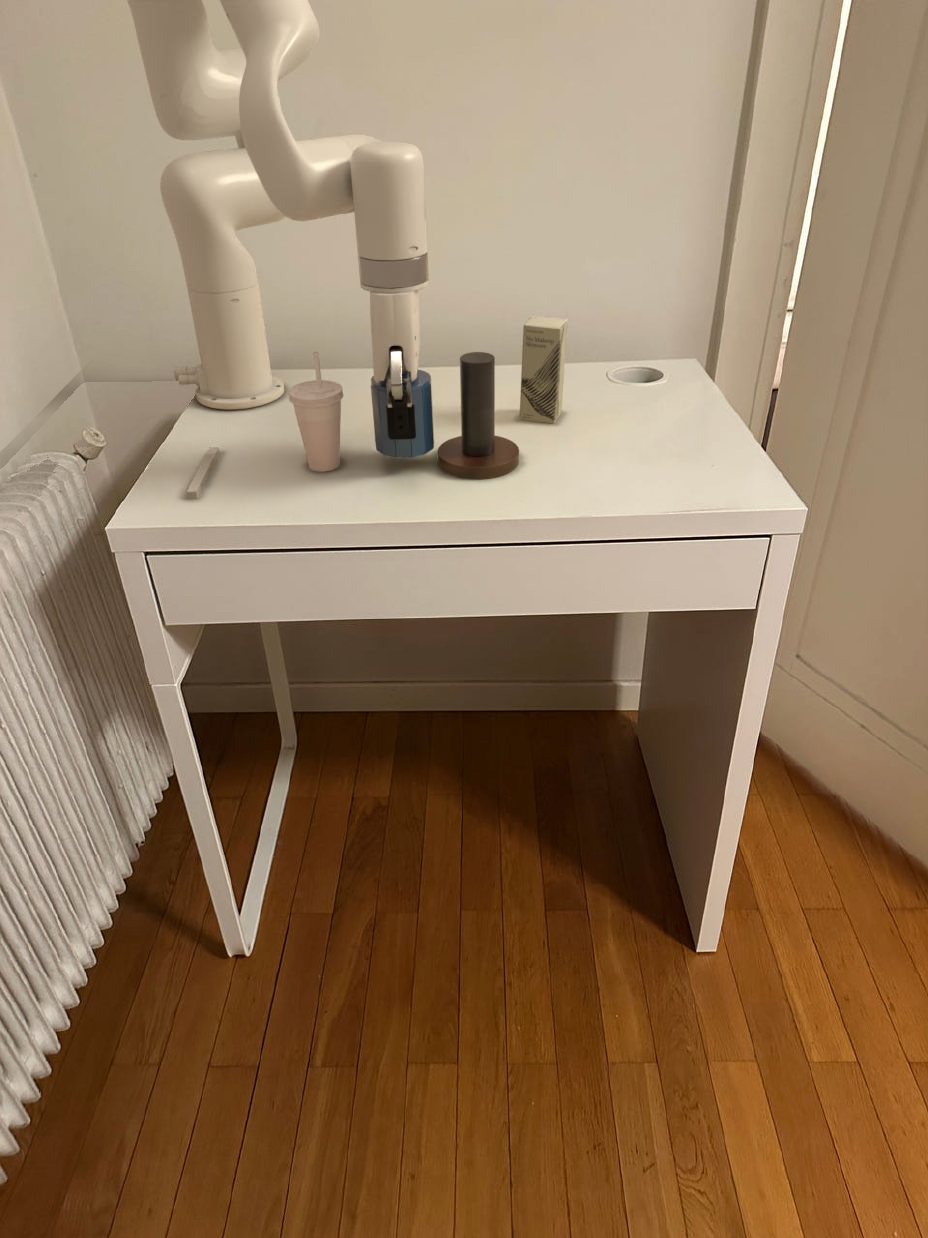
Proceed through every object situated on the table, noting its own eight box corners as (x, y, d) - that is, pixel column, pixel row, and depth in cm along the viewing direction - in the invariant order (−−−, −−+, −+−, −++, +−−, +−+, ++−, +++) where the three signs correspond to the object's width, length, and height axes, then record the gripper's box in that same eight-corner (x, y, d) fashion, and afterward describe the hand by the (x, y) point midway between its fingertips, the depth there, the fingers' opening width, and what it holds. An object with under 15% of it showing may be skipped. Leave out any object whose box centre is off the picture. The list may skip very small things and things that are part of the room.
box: (518, 420, 122) (520, 324, 114) (527, 408, 125) (529, 314, 118) (556, 424, 120) (560, 327, 113) (564, 412, 124) (568, 317, 116)
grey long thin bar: (197, 499, 104) (196, 491, 104) (188, 499, 104) (186, 491, 104) (219, 454, 115) (218, 447, 114) (210, 454, 115) (209, 447, 114)
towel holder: (437, 480, 107) (433, 373, 100) (438, 445, 115) (434, 344, 108) (521, 478, 107) (523, 370, 100) (516, 444, 115) (517, 342, 108)
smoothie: (341, 478, 108) (328, 362, 100) (290, 474, 109) (274, 360, 101) (356, 455, 113) (346, 344, 105) (308, 452, 114) (294, 342, 106)
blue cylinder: (374, 458, 107) (368, 389, 102) (378, 435, 113) (373, 368, 108) (433, 457, 107) (430, 387, 102) (434, 434, 113) (431, 367, 108)
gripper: (365, 253, 105) (377, 400, 115) (352, 292, 91) (367, 456, 101) (429, 251, 105) (435, 398, 115) (426, 290, 91) (434, 454, 101)
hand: (403, 424), depth 108 cm, fingers closed on blue cylinder, 7 cm apart
